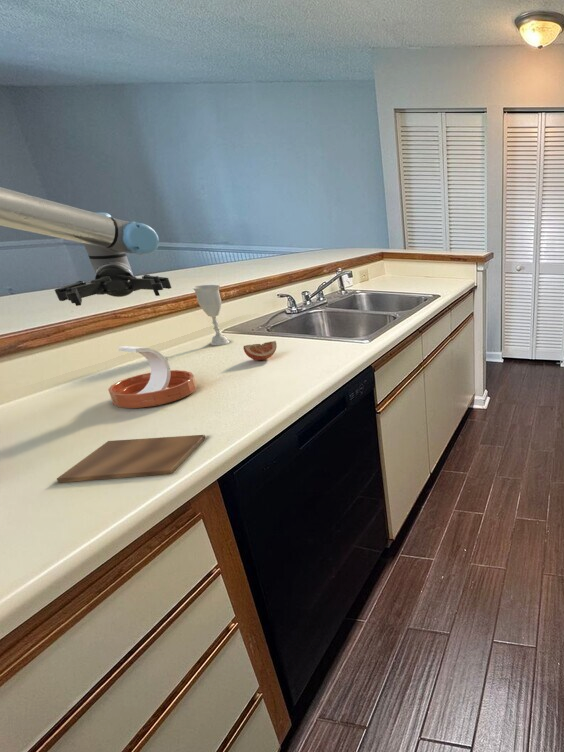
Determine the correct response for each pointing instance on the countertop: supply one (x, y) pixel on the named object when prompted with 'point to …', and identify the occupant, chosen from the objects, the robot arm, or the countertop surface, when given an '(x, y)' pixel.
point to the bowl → (128, 389)
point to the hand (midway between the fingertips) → (117, 294)
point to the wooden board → (133, 458)
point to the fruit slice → (260, 350)
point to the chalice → (211, 308)
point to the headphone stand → (153, 368)
